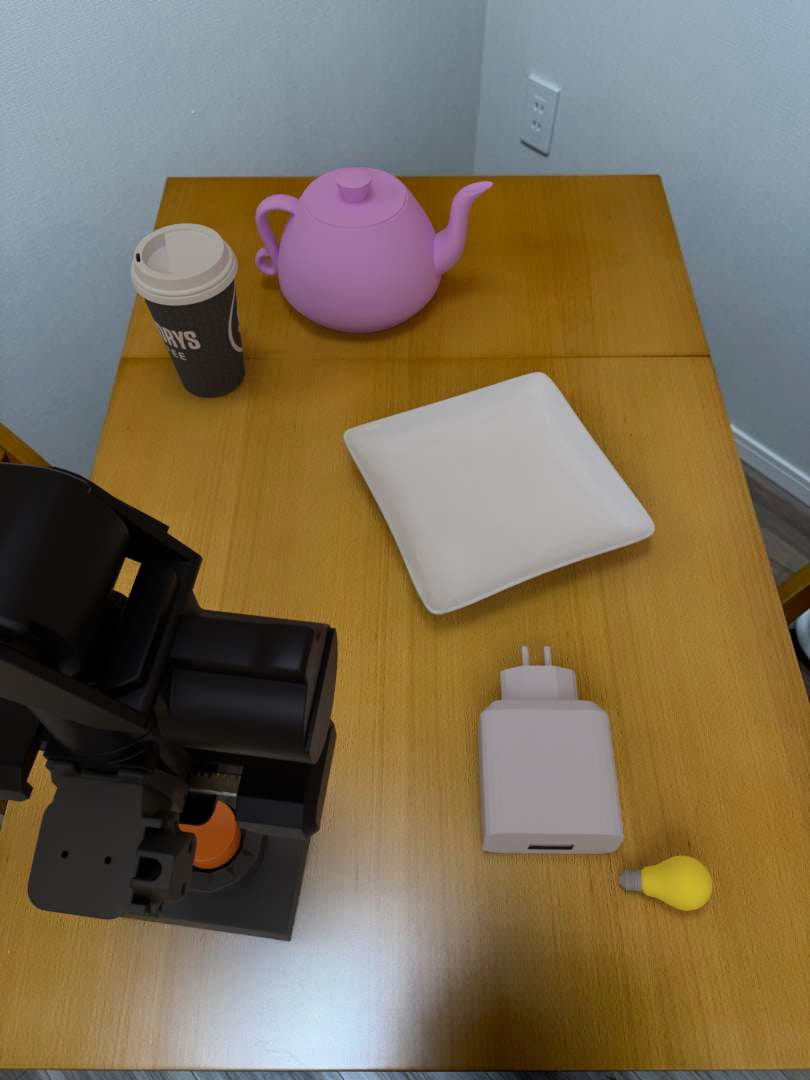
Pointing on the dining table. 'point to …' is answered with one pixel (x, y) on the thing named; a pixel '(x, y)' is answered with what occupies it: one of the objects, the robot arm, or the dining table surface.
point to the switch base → (244, 888)
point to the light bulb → (672, 882)
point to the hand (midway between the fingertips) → (185, 803)
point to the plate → (494, 490)
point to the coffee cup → (193, 304)
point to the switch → (215, 838)
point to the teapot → (360, 249)
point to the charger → (547, 767)
